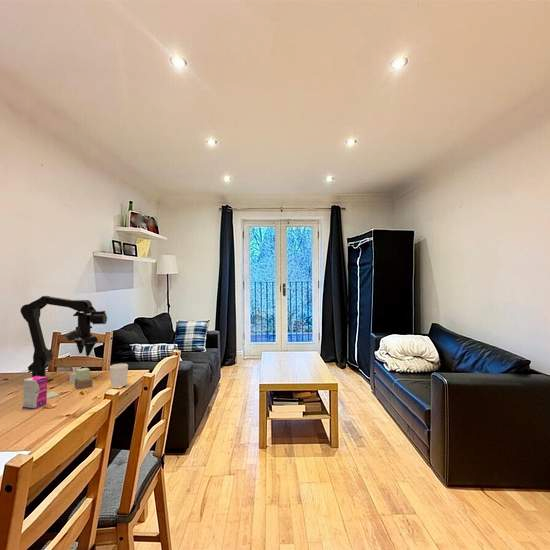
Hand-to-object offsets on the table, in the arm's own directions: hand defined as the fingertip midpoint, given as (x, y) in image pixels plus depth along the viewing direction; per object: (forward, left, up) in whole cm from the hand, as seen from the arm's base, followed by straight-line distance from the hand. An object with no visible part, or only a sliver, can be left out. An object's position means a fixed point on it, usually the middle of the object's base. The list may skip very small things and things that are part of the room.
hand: (84, 354), depth 170 cm
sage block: (+13, -5, -9) cm, 16 cm away
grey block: (+2, -4, -13) cm, 13 cm away
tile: (+15, -20, -12) cm, 28 cm away
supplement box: (+24, -27, -13) cm, 38 cm away
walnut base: (+13, -5, -13) cm, 19 cm away
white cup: (+26, +6, -13) cm, 30 cm away
